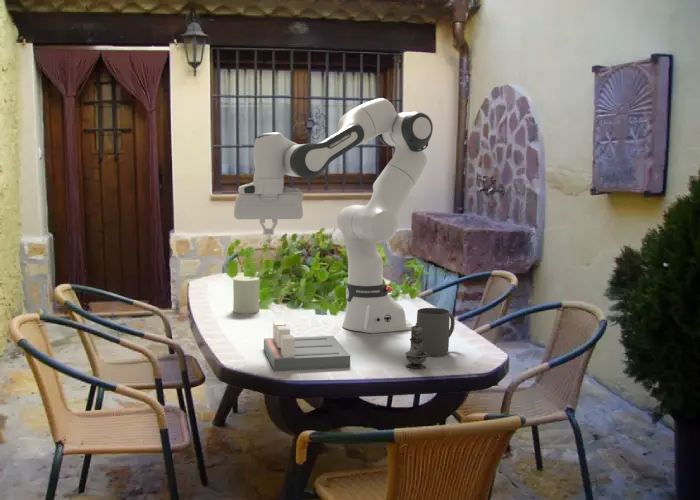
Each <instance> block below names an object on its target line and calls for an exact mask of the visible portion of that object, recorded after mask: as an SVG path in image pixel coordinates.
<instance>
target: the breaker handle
mask: <svg viewBox="0 0 700 500" xmlns="http://www.w3.org/2000/svg"><path fill="white" fill-rule="evenodd" d="M281 335H291V329H290V327H289V325H286V326H277V346H278V348H281Z"/></svg>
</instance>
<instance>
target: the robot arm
mask: <svg viewBox="0 0 700 500" xmlns="http://www.w3.org/2000/svg"><path fill="white" fill-rule="evenodd" d="M433 128H434V126H433V122H432V119H431V118H430V117H429V116H428V115H427V114H426V113H423V112H420V111H416V110H415V111H402V112H399V113H398V112H397V111H396V109H395V107H394V105H393V103H392V102H391V101H390V100H388V99H386V98H383V97H380V98H375V99H372V100H369V101H367V102H363V103H362V104H360V105H357V106H356V107H354V108H352V109H350V110H348V111H347V112H346V113H344V114H343V116H341V117H340V118H339V121H338V123H337V130H338V131H337V132H335V133H334V134H332V135H331V136H328V137H326V139H324V140H322V141H320V142H317V143H315V142H314V143H311V142H310V143H303V144H298V143H296V142H294V141H292V140H290V139H288V138H287V137H286V136H284V135H283V134H282V133H281V132H277V131H274V132H273V131H272V132H266V133H265V132H264V133H261V134H259V135H258V136H257V137H256V138H255V141H254V144H253V145H254V146H253V165H254V173H253V181H252V182H248V183H246V184H243V185H240V186H238V189H237V191H238V195H237V196H236V198H235V201H234V208H233V217H234V218H235V219H236V220H259V224H260V226H261V227H262V231H263V235H269V236H271V235H273V236H274V234H275V232H274V231H275V230H274V229H275V228H276V227H277V225H278V220H301V219H302V218H303V216H304V213H303V202H304V192H303V191H302V190H301V189H299V187H285V186H284V184H285V183H284V182H285V181H284V176H285V175H286V176H289V177H296V178H297V177H298V178H299V177H300V178H303V179H307V180H311V179H316V178H318V177H320V176H321V175H322V174H323V173H324V171H325V170H326V169H327V168H328V167H329V165H330V164H331V163H332V162H333V161H334V160H336V159H338V158H339V157H340V156H341V157H342V155H344V154H345V153H347V152H349V151H350V150H351V149H353V148H355V147H357V146H360V145H363V144H365V143H367V142H369V141H371V140H372V139H374V138H376V137H378V139H379V140H380V142H381V143H382V144H383V145H385V146H387V147H390V148H394V153H393V155H392V158H391V159H390V161H388V163H387V164H386V166H385V167H384V169H383V170H382V171H381V172H380V174H379V175H378V177H377V178H376V180H375V181H374V182H373V184H372V190H373V191H372V195H371V198H370V200H369V202H368V203H367V204H366V205H364V204H363V205H362V204H352V205H349V206H346V207H343V208H342V209H341V211H340V212H339V213H338V216H337V220H336V222H337V223H336V224H337V227H338V229H339V231H340V232H341V234H342V237H343V240H344V244H345V250H346V254H347V278H348V279H347V283H346V288H345V298H346V299H345V300H346V307H345V308H346V309H345V315H344V319H343V322H342V325H341V326H342V328H344V329H347V330H350V331H356V332H363V333H367V334H376V333H378V334H379V333H388V332H397V331H398V332H399V331H411V328H412V327H413V323H412V322H411V321H410V320H407V319H406V312H405V309H404V307H403V306H402V305H401V304H400V303H399V302H397V300H395V299H394V298H392V297H391V296H390V295H389V294H391V293H392V292H393V290H394V289H393V287H392V286H390V285H387V284H385V283H383V279H384V278H383V274H384V267H383V266H384V261H383V258H382V257H383V256H381V254H380V252H379V249H378V247H377V243H382V242H387V241H389V240H391V239H393V237H394V236H395V235H396V233H397V230H398V221H397V217H398V214H399V211H400V208H401V206H402V204H403V203H404V201H405V200H406V198H407V197H408V195H409V194H410V192H411V191H412V190H413V188H414V187H415V185H416V184H417V182H418V180H419V179H420V177H421V175H422V173H423V171H424V170H425V168H426V165H427V161H428V160H427V159H428V158H427V155H426V153H425V151H424V150H425V149H427V147H429V141H430V140H431V138H432V135H433ZM266 220H271V223H272V225H271V227H267V228H266V226H265V223H266Z"/></svg>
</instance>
